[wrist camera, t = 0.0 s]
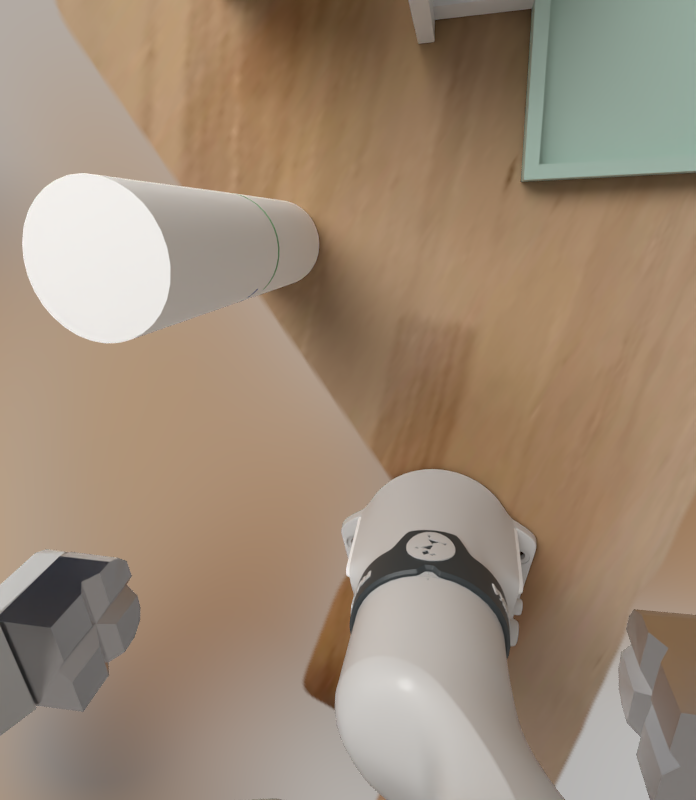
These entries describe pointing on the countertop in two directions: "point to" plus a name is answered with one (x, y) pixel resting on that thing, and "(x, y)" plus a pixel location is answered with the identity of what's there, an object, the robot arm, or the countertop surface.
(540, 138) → the tray
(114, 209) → the cylindrical container
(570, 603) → the countertop surface
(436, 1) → the dock
